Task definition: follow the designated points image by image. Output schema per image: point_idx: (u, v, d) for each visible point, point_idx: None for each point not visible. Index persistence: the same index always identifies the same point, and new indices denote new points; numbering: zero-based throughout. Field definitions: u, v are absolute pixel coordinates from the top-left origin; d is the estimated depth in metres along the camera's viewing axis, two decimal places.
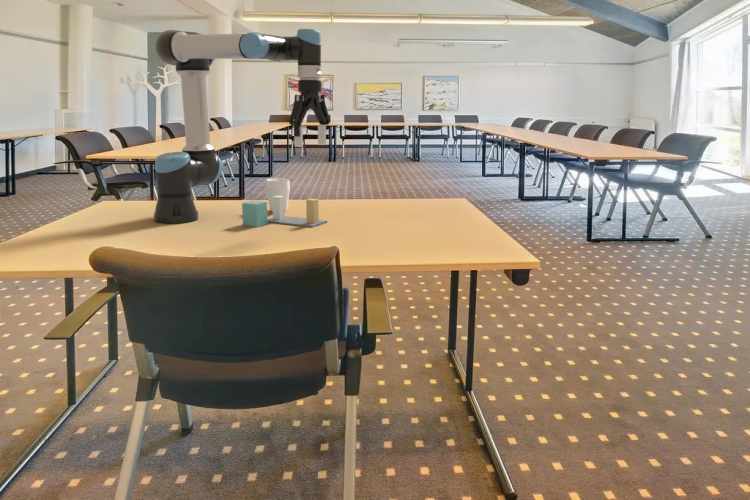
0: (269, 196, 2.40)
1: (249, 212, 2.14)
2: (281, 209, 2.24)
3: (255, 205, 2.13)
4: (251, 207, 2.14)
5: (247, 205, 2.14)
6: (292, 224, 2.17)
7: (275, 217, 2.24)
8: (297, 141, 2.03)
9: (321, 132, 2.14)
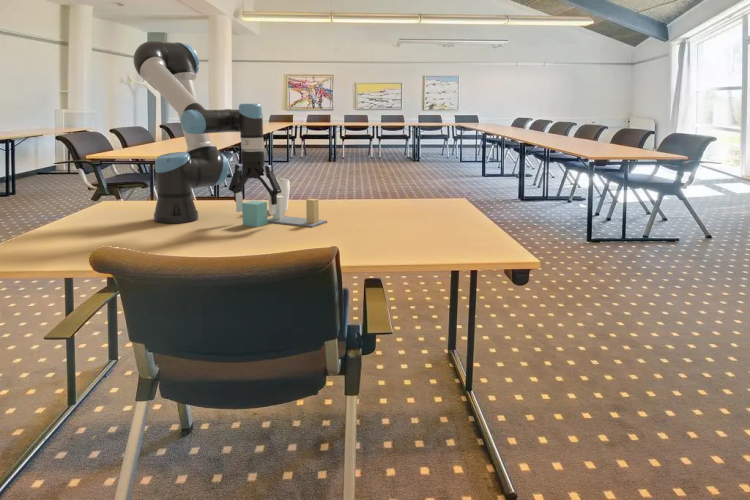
0: None
1: (249, 212, 2.14)
2: (281, 209, 2.24)
3: (255, 205, 2.13)
4: (251, 207, 2.14)
5: (247, 205, 2.14)
6: (292, 224, 2.17)
7: (275, 217, 2.24)
8: None
9: None
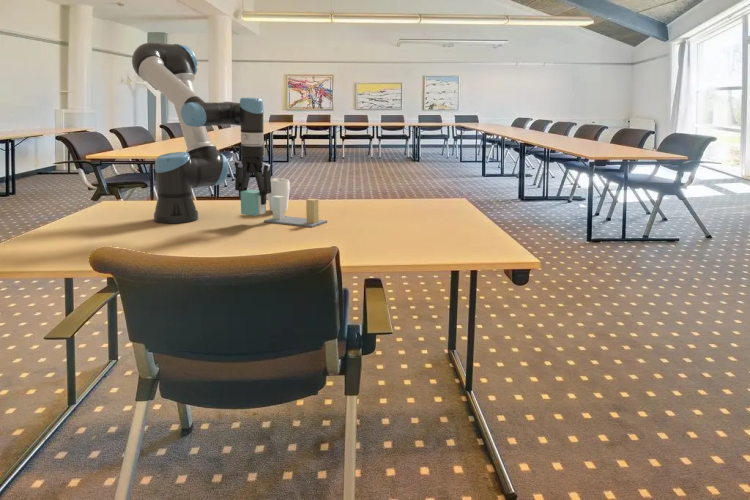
0: (269, 196, 2.40)
1: (247, 201, 2.14)
2: (281, 209, 2.24)
3: (254, 194, 2.12)
4: (249, 196, 2.13)
5: (246, 194, 2.14)
6: (292, 224, 2.17)
7: (275, 217, 2.24)
8: None
9: None
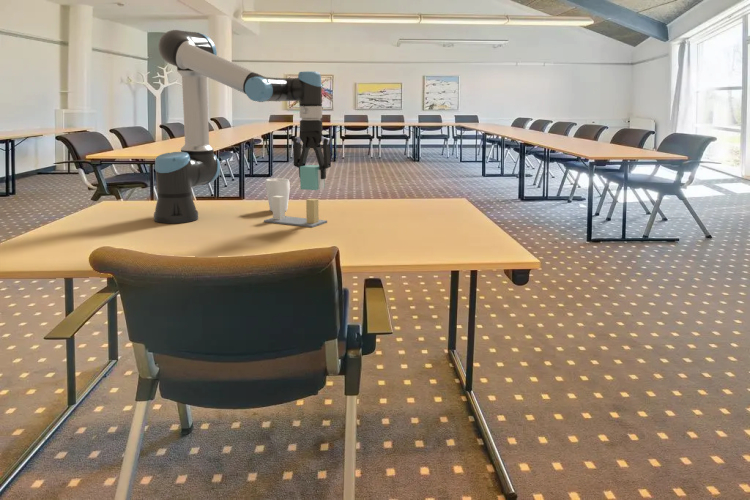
0: (269, 196, 2.40)
1: (307, 175, 2.13)
2: (281, 209, 2.24)
3: (314, 168, 2.11)
4: (309, 170, 2.12)
5: (305, 168, 2.13)
6: (292, 224, 2.17)
7: (275, 217, 2.24)
8: None
9: None
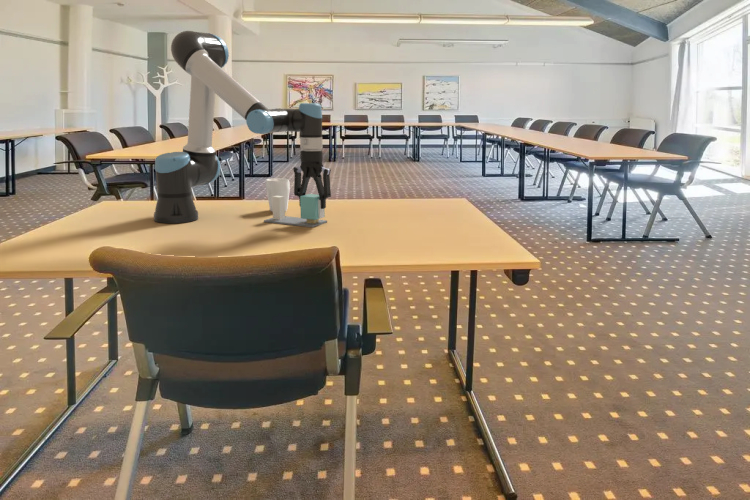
0: (269, 196, 2.40)
1: (307, 205, 2.15)
2: (281, 209, 2.24)
3: (314, 198, 2.14)
4: (309, 200, 2.15)
5: (305, 198, 2.15)
6: (292, 224, 2.17)
7: (275, 217, 2.24)
8: None
9: None
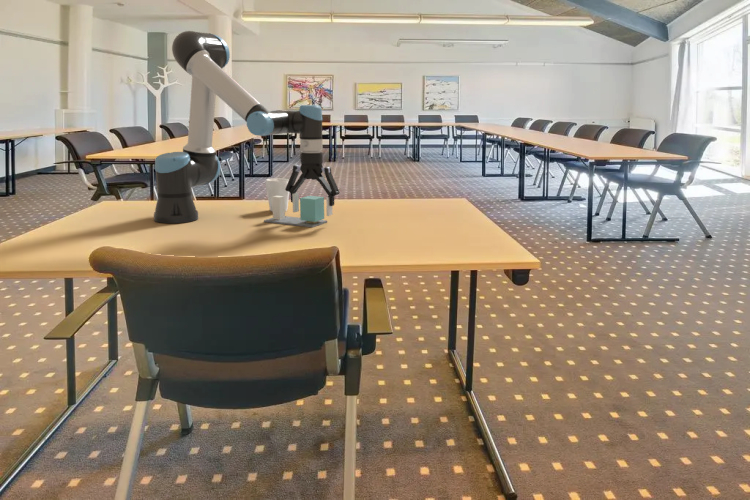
0: (269, 196, 2.40)
1: (307, 207, 2.16)
2: (281, 209, 2.24)
3: (313, 200, 2.14)
4: (309, 202, 2.15)
5: (305, 200, 2.15)
6: (292, 224, 2.17)
7: (275, 217, 2.24)
8: None
9: None
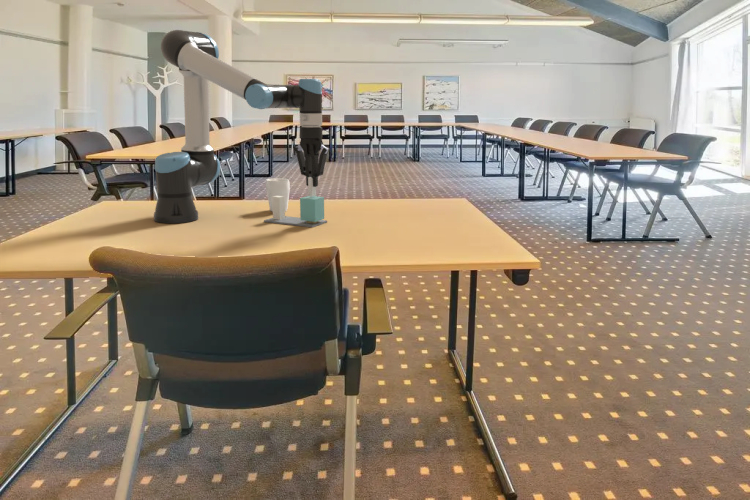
0: (269, 196, 2.40)
1: (307, 207, 2.16)
2: (281, 209, 2.24)
3: (313, 200, 2.14)
4: (309, 202, 2.15)
5: (305, 200, 2.15)
6: (292, 224, 2.17)
7: (275, 217, 2.24)
8: None
9: None
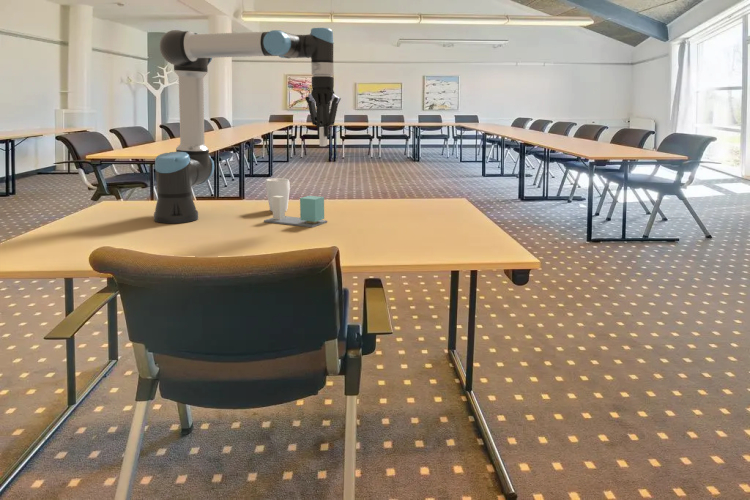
0: (269, 196, 2.40)
1: (307, 207, 2.16)
2: (281, 209, 2.24)
3: (313, 200, 2.14)
4: (309, 202, 2.15)
5: (305, 200, 2.15)
6: (292, 224, 2.17)
7: (275, 217, 2.24)
8: None
9: None
